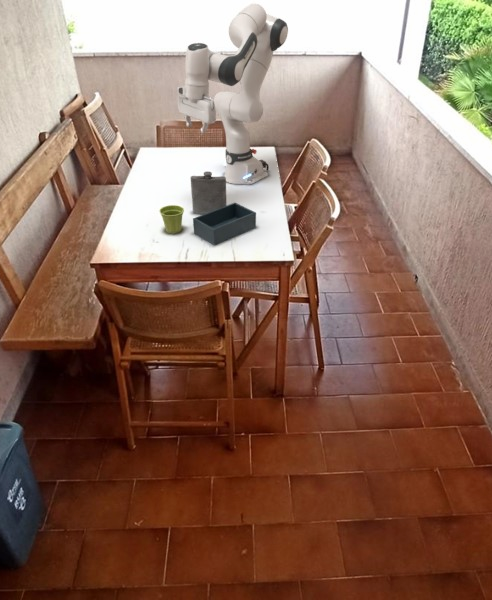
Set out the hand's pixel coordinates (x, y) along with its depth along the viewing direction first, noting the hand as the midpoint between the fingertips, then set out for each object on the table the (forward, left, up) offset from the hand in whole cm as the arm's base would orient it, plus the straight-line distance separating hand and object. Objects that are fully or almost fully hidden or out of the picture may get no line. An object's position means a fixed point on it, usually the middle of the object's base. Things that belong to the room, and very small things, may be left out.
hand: (196, 129), depth 190 cm
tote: (+6, +23, -33) cm, 41 cm away
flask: (+1, +7, -33) cm, 34 cm away
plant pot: (+21, +9, -33) cm, 40 cm away
